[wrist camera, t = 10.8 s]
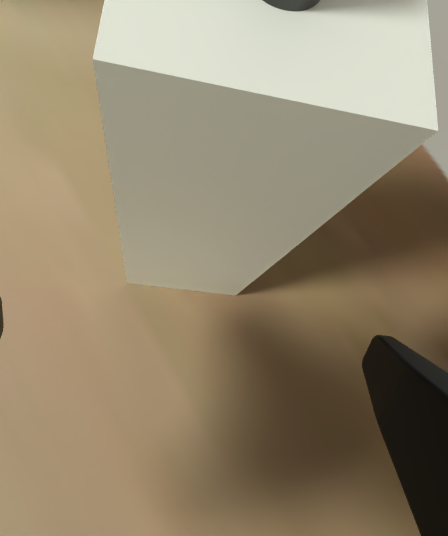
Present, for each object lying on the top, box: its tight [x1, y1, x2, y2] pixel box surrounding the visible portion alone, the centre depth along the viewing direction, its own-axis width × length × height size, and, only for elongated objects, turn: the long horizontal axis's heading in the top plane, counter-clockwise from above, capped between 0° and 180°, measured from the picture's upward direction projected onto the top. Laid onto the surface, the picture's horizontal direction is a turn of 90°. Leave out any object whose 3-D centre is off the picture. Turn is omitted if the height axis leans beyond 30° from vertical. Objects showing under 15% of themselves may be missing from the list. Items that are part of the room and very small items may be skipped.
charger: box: [93, 0, 438, 296], centre depth 10 cm, size 4×4×14 cm
